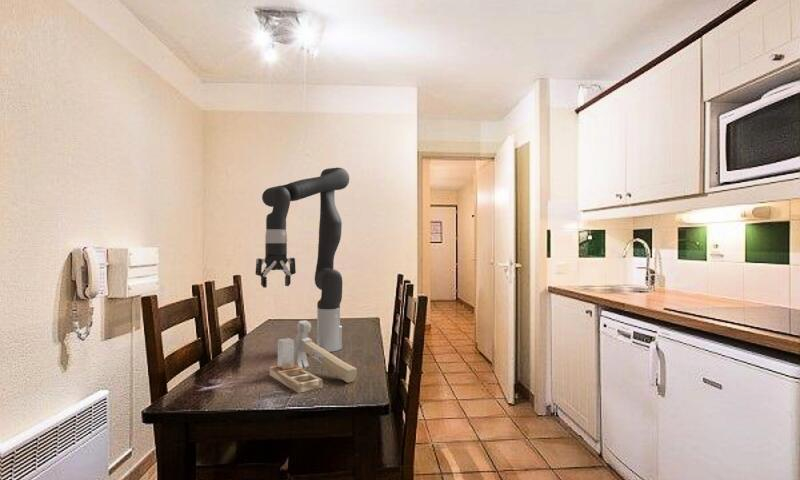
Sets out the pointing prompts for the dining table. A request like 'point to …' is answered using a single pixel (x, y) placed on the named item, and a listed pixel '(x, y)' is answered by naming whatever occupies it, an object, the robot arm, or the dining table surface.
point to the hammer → (319, 354)
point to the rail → (297, 379)
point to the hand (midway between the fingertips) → (275, 286)
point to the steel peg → (285, 354)
